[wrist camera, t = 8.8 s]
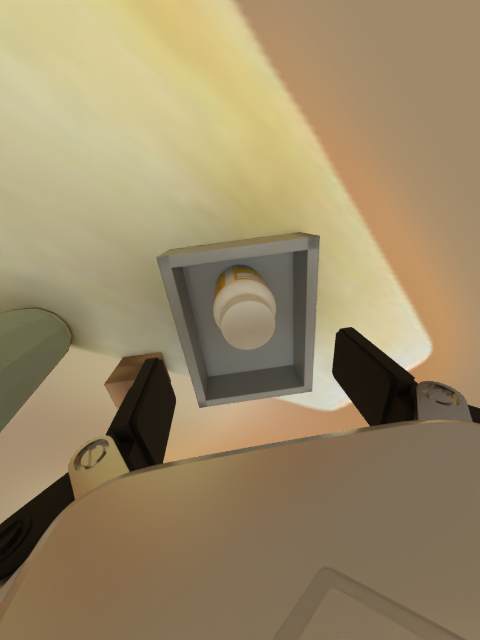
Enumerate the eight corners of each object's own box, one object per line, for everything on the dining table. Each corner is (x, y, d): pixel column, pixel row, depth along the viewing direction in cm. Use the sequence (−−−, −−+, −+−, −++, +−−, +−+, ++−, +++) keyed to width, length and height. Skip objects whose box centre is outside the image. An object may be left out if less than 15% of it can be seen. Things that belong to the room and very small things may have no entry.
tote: (202, 379, 30) (199, 407, 26) (169, 249, 22) (156, 257, 18) (298, 365, 30) (312, 391, 26) (300, 232, 22) (319, 235, 18)
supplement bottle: (250, 254, 22) (269, 276, 14) (269, 297, 24) (296, 339, 16) (206, 277, 23) (197, 312, 14) (228, 317, 25) (233, 367, 16)
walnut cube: (135, 385, 30) (120, 415, 25) (123, 357, 28) (104, 384, 23) (170, 380, 30) (161, 409, 25) (161, 352, 28) (149, 377, 23)
